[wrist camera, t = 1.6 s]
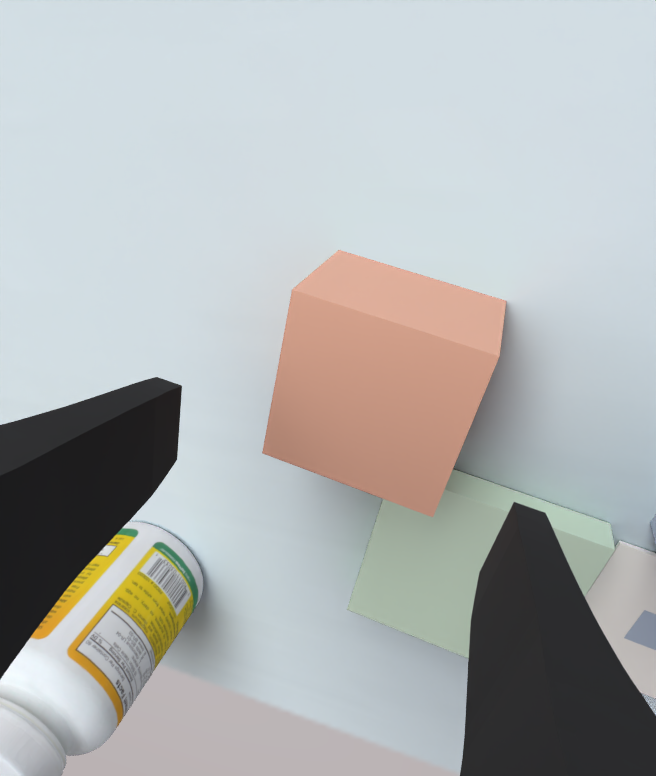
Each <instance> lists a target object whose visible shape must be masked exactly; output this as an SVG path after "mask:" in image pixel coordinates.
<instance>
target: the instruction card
mask: <svg viewBox="0 0 656 776" xmlns="http://www.w3.org/2000/svg"><path fill="white" fill-rule="evenodd" d="M585 599H586V601H587V603H588V605H589V607H590V609H591V611H592V613H593V615H594V616H595V618H596V620H597V622H598V624H599V626H600V628H601V629H602V631H603V633H604V635H605V636H606V638H607V640H608V642H609V643H610V645H611V647H612V649H613V650H614V652H615V654H616V655H617V657H618V659H619V660H620V662H621V664H622V665H623V667H624V669H625V670H626V672H627V673H628V675H629V677H630V678H631V680H632V681H633V683H634V684H635V686H636V687H637V689H638V690H639V692H640V693H643V694H645V695H648V696H650V697H653V698H655V699H656V553H654V552H651V551H648V550H645V549H643V548H640V547H637V546H634V545H631V544H628V543H625V542H623V541H620V540H619V542H618V543H617V545H616V546H615V551H614V552H613V554H612V555H611V557H610V558H609V560H608V561H607V563H606V565H605V566H604V568H603V569H602V571H601V572H600V574H599V575H598V577H597V578H596V580H595V581H594V583H593V584H592V586H591V587H590V589H589V591H588V592H587V594H586V595H585Z"/></svg>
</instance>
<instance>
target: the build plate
mask: <svg viewBox="0 0 656 776" xmlns="http://www.w3.org/2000/svg"><path fill="white" fill-rule="evenodd" d="M514 502H516V503H519V504H522V505H525V506H528V507H530V508H533V509H536V510H539V511H542V512H545V513H546V515H547V517H548V519H549V521H550V523H551V526H552V528H553V530H554V532H555V535H556V537H557V539H558V541H559V544H560V546H561V548H562V550H563V553H564V555H565V557H566V559H567V561H568V564H569V566H570V568H571V570H572V572H573V574H574V576H575V579H576V581H577V583H578V585H579V587H580V589H581V591H582V593H583V595H584V597H585V595H586V594H587V592H588V591H589V589H590V587H591V586H592V584H593V583H594V581H595V580H596V578H597V577H598V575H599V574H600V572H601V571H602V569H603V568H604V566H605V565H606V563H607V561H608V560H609V558H610V557H611V555H612V554H613V552H614V551H615V546H614V541H613V535H612V530H611V524H610V523H607V522H604V521H601V520H598V519H596V518H593V517H590V516H587V515H584V514H581V513H578V512H575V511H573V510H570V509H567V508H564V507H561V506H558V505H555V504H552V503H550V502H547V501H544V500H541V499H538V498H535V497H532V496H529V495H527V494H524V493H521V492H518V491H515V490H512V489H509V488H506V487H504V486H501V485H498V484H495V483H492V482H489V481H486V480H483V479H481V478H478V477H475V476H472V475H469V474H466V473H463V472H460V471H458V470H455V469H453V470H452V472H451V475H450V477H449V480H448V482H447V485H446V487H445V489H444V492H443V494H442V497H441V499H440V501H439V504H438V506H437V509H436V511H435V514H434V516H433V517H430V516H428V515H425V514H422V513H420V512H417V511H414V510H412V509H409V508H407V507H404V506H401V505H399V504H396V503H393V502H391V501H388V500H385V499H383V500H382V503H381V506H380V509H379V512H378V515H377V518H376V521H375V525H374V528H373V531H372V534H371V537H370V540H369V543H368V546H367V549H366V552H365V555H364V558H363V561H362V565H361V568H360V571H359V574H358V577H357V580H356V583H355V586H354V589H353V592H352V595H351V598H350V601H349V605H348V608H347V610H349V611H351V612H354V613H356V614H359V615H361V616H364V617H366V618H369V619H371V620H374V621H376V622H379V623H381V624H384V625H386V626H389V627H391V628H394V629H396V630H399V631H401V632H404V633H406V634H408V635H411V636H413V637H416V638H418V639H421V640H423V641H426V642H428V643H431V644H433V645H436V646H438V647H441V648H443V649H446V650H448V651H451V652H453V653H456V654H458V655H461V656H463V657H465V658H468V659H469V643H470V626H471V616H472V610H473V604H474V598H475V593H476V587H477V582H478V577H479V572H480V570H481V568H482V566H483V564H484V562H485V560H486V558H487V556H488V554H489V552H490V550H491V548H492V546H493V543H494V541H495V539H496V537H497V535H498V533H499V531H500V529H501V527H502V525H503V523H504V521H505V519H506V517H507V515H508V513H509V511H510V509H511V507H512V505H513V503H514Z"/></svg>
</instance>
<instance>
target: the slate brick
mask: <svg viewBox="0 0 656 776" xmlns="http://www.w3.org/2000/svg"><path fill="white" fill-rule="evenodd" d="M650 524H651V527H652V531H653V535H654V538H655V542H656V515H655V516H654V518H653V519H652V521H651V522H650Z"/></svg>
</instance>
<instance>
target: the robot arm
mask: <svg viewBox="0 0 656 776" xmlns="http://www.w3.org/2000/svg"><path fill="white" fill-rule="evenodd" d="M181 390H182V386H181V385H178V384H175V383H172V382H169V381H166V380H164V379H161V378H158V377H155V378H152V379H148V380H144V381H141V382H138V383H135V384H132V385H129V386H126V387H123V388H120V389H117V390H114V391H111V392H108V393H105V394H102V395H99V396H96V397H93V398H90V399H87V400H84V401H81V402H78V403H75V404H72V405H69V406H66V407H63V408H59V409H56V410H52V411H49V412H45V413H42V414H39V415H35V416H32V417H28V418H25V419H21V420H18V421H15V422H11V423H7V424H3V425H0V679H1V678H2V676H3V675H4V674H5V672H6V671H7V669H8V668H9V666H10V665H11V664H12V662H13V661H14V659H15V658H16V657H17V655H18V654H19V653H20V651H21V650H22V648H23V647H24V646H25V644H26V643H27V641H28V640H29V639H30V637H31V636H32V634H33V633H34V632H35V630H36V629H37V628H38V626H39V625H40V624H41V622H42V621H43V620H44V618H45V617H46V616H47V614H48V613H49V612H50V610H51V609H52V608H53V606H54V605H55V604H56V603H57V601H58V600H59V599H60V597H61V596H62V595H63V593H64V592H65V591H66V589H67V588H68V587H69V586H70V585H71V583H72V582H73V581H74V580H75V579H76V578H77V576H78V575H79V574H80V573H81V572H82V571H83V570H84V568H85V567H86V566H87V565H88V564H89V563H90V562H91V561H92V560H93V559H94V558H95V557H96V556H97V555H98V553H99V552H100V551H101V550H102V549H103V548H104V547H105V546H106V545H107V544H108V543H109V542H110V541H111V540H112V538H113V537H114V536H115V535H116V534H117V533H118V532H119V531H120V530H121V529H122V528H123V527H124V526H125V525H126V523H127V522H128V521H129V520H130V519H131V518H132V517H133V516H134V515H135V514H136V513H137V511H138V510H139V509H140V508H141V507H142V506H143V505H144V504H145V503H146V502H147V500H148V499H149V498H150V497H151V496H152V495H153V493H154V492H155V491H156V489H157V488H158V486H159V485H160V484H161V482H162V481H163V480H164V478H165V477H166V475H167V474H168V472H169V471H170V469H171V468H172V466H173V465H174V463H175V462H176V460H177V451H178V436H179V421H180V406H181ZM460 776H656V715H655V714H654V713H653V711H652V710H651V708H650V707H649V705H648V704H647V702H646V701H645V699H644V698H643V696H642V695H641V693H640V692H639V690H638V689H637V687H636V686H635V684H634V683H633V681H632V680H631V678H630V677H629V675H628V673H627V672H626V670H625V669H624V667H623V665H622V664H621V662H620V660H619V659H618V657H617V655H616V654H615V652H614V650H613V649H612V647H611V645H610V643H609V642H608V640H607V638H606V636H605V635H604V633H603V631H602V629H601V628H600V626H599V624H598V622H597V620H596V618H595V616H594V615H593V613H592V611H591V609H590V607H589V605H588V603H587V601H586V599H585V597H584V595H583V593H582V591H581V589H580V587H579V585H578V583H577V581H576V579H575V576H574V574H573V572H572V570H571V568H570V566H569V564H568V561H567V559H566V557H565V555H564V553H563V550H562V548H561V546H560V544H559V541H558V539H557V537H556V535H555V532H554V530H553V528H552V526H551V523H550V521H549V519H548V517H547V515H546V513H545V512H542V511H539V510H536V509H533V508H530V507H528V506H525V505H522V504H519V503H516V502H514V503H513V505H512V507H511V509H510V511H509V513H508V515H507V517H506V519H505V521H504V523H503V525H502V527H501V529H500V531H499V533H498V535H497V537H496V539H495V541H494V543H493V546H492V548H491V550H490V552H489V554H488V556H487V558H486V560H485V562H484V564H483V566H482V568H481V570H480V572H479V577H478V582H477V587H476V593H475V598H474V604H473V610H472V616H471V626H470V643H469V662H468V682H467V702H466V723H465V738H464V749H463V759H462V766H461V773H460Z"/></svg>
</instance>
